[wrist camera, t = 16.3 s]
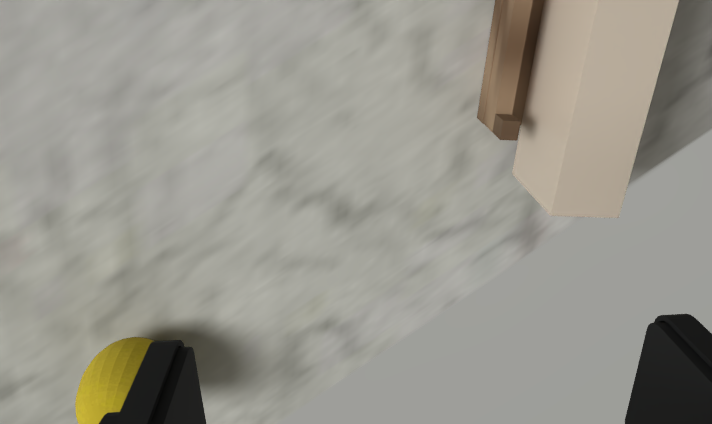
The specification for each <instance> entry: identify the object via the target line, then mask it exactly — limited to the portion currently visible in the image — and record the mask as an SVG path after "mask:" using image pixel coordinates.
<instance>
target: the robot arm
mask: <svg viewBox="0 0 712 424" xmlns="http://www.w3.org/2000/svg"><path fill="white" fill-rule="evenodd" d="M99 424H206V420H205V414H204V408H203V402H202V397H201V391H200V385H199V379H198V373H197V368H196V362H195V356H194V351H193V348H192V347H184V344H183V342H182V341H181V340H173V341H153V342H151V344H150V345H149V347H148V349H147V352H146V354H145V356H144V358H143V361H142V363H141V365H140V367H139V370H138V372H137V374H136V376H135V379H134V381H133V383H132V385H131V388H130V390H129V392H128V394H127V397H126V399H125V401H124V403H123V406H122V408H121V410H120V412H110V413H107V414H105V415H104V416H103V418H102V419H101V421H100V422H99ZM625 424H712V334H711V333H710V332H709V331H708V330H707V329H706V328H705V327H704V326H703V325H702V324H701V323H700V322H699V321H697V320H696V319H695V318H694V317H693V316H691V315H689V314H677V315H661V316H658V317H657V318H656V319H655V322H654V323H651V324H650V325H649V326H648V328H647V331H646V335H645V340H644V344H643V348H642V352H641V357H640V360H639V365H638V369H637V373H636V377H635V381H634V385H633V389H632V393H631V398H630V402H629V406H628V410H627V414H626V418H625Z"/></svg>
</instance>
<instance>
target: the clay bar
mask: <svg viewBox="0 0 712 424" xmlns="http://www.w3.org/2000/svg"><path fill="white" fill-rule="evenodd" d="M678 2H679V0H544V4H543V10H542V15H541V21H540V26H539V32H538V37H537V42H536V48H535V53H534V59H533V64H532V69H531V75H530V80H529V86H528V91H527V96H526V102H525V107H524V113H523V118H522V124H521V129H520V134H519V140H518V145H517V151H516V156H515V161H514V167H513V172H512V174H513V175H514V176H515V177H516V178H517V180H518V181H519V182H520V183H521V184H522V185H523V186H524V187H525V188H526V189H527V190H528V192H529V193H530V194H531V195H532V196H533V197H534V198H535V199H536V200H537V201H538V203H539V204H540V205H541V206H542V207H543V208H544V209H545V210H546V211H547V212H548V214H549V215H550V216H571V217H604V218H619V215H620V211H621V208H622V204H623V200H624V197H625V193H626V190H627V186H628V183H629V179H630V175H631V172H632V168H633V165H634V161H635V157H636V154H637V150H638V147H639V143H640V139H641V136H642V132H643V129H644V125H645V121H646V118H647V114H648V111H649V107H650V103H651V100H652V96H653V92H654V89H655V85H656V82H657V78H658V74H659V71H660V67H661V64H662V60H663V56H664V53H665V49H666V46H667V42H668V38H669V35H670V31H671V28H672V24H673V20H674V17H675V13H676V10H677V6H678Z"/></svg>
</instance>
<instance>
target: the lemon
mask: <svg viewBox="0 0 712 424" xmlns="http://www.w3.org/2000/svg"><path fill="white" fill-rule="evenodd" d="M151 342H153V340H151V339H146V338H141V337H132V338H126V339H122V340H119V341H117V342H114V343H112V344H110V345H109V346H107V347H106V348H105V349H104V350H102V351H101V352H100V353H99V354H98V355H97V356H96V357H95V358H94V359H93V360H92V362H91V363H90V365H89V366H88V368H87V369H86V371H85V372H84V374H83V376H82V379H81V382H80V385H79V388H78V392H77V396H76V403H75V405H76V417H77V420H78V423H79V424H99V422H100V421H101V419H102V418H103V416H104V415H105V414H107V413H110V412H120V410H121V408H122V406H123V403H124V401H125V399H126V397H127V394H128V392H129V390H130V388H131V385H132V383H133V381H134V379H135V376H136V374H137V372H138V370H139V367H140V365H141V363H142V361H143V358H144V356H145V354H146V352H147V349H148V347H149V345H150V344H151Z"/></svg>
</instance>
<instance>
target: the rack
mask: <svg viewBox="0 0 712 424" xmlns="http://www.w3.org/2000/svg"><path fill="white" fill-rule="evenodd" d="M543 4H544V0H495V6H494V13H493V19H492V26H491V32H490V38H489V45H488V51H487V57H486V64H485V70H484V77H483V83H482V89H481V96H480V102H479V109H478V115H477V118H478V119H479V120H480V121H481V122H482V123H484V124H485V125H486V126H487V127H488V128H489V129H490V130H491V131H492V132H493V133H494V134H495V135H496V136H497V137H498V138H499V139H500V140H517V138H518V133H519V128H520V125H521V124H522V118H523V113H524V107H525V102H526V96H527V91H528V86H529V80H530V75H531V69H532V64H533V59H534V53H535V48H536V42H537V37H538V32H539V26H540V21H541V15H542V10H543Z"/></svg>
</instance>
